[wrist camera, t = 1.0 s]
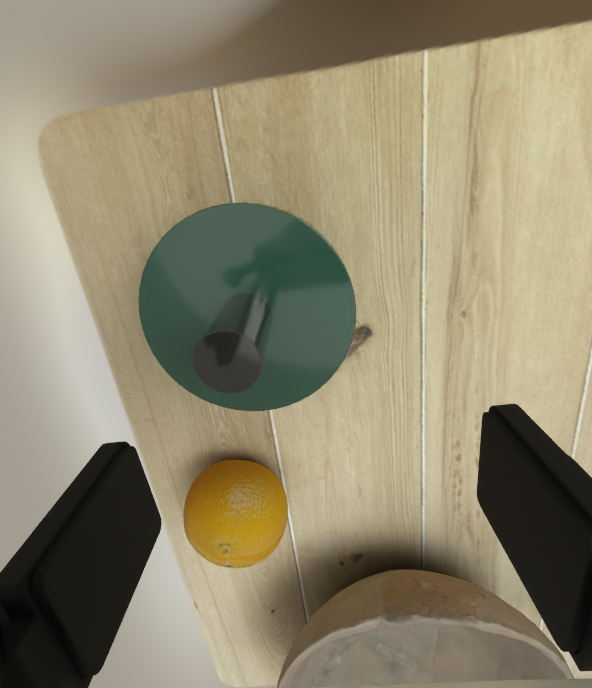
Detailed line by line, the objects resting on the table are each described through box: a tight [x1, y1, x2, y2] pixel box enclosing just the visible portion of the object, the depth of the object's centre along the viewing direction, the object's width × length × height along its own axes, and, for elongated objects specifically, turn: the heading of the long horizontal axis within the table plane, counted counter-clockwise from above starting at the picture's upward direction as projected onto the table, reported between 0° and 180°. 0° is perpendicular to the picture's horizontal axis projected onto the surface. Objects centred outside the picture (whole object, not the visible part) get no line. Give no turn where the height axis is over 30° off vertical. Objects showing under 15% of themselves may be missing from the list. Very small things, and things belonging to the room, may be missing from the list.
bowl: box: [277, 569, 574, 688], centre depth 37 cm, size 26×26×10 cm
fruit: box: [184, 460, 288, 568], centre depth 32 cm, size 9×8×8 cm
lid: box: [139, 202, 356, 411], centre depth 18 cm, size 12×12×7 cm
